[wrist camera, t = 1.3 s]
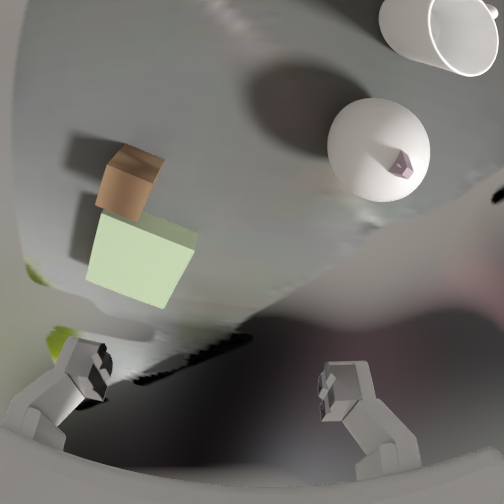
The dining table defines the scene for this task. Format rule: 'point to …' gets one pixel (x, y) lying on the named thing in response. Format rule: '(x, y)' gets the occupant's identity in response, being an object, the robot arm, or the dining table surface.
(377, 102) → the ornament
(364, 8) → the dining table surface
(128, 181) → the walnut block
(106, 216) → the base box
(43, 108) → the dining table surface
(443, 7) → the cup
